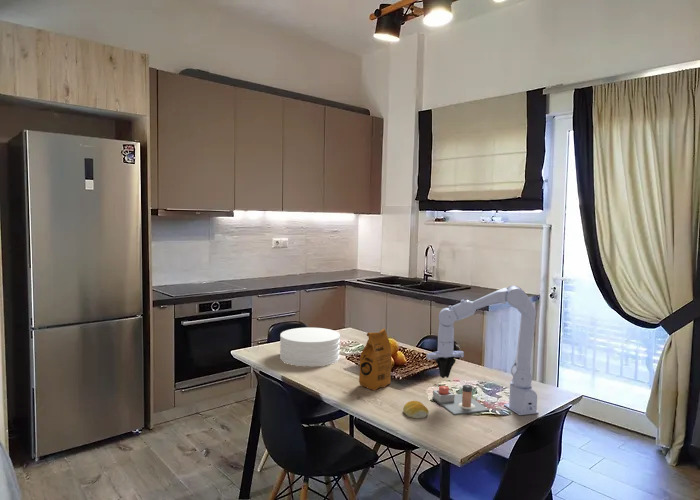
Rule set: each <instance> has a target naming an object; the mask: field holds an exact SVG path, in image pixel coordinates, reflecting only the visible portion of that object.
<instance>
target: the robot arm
mask: <svg viewBox="0 0 700 500" xmlns="http://www.w3.org/2000/svg"><path fill="white" fill-rule="evenodd" d="M496 303H499V304H502V305H506V304H507V303H508V305H510V306H511V307H513V308H515V309H517V310H518V312H519V313H520V314H521V316H520V323H519V331H518V341H517V348H516V356H515V359H514V363H513V364H512V366H511V368H510V373H511V376H512V379H511V380H510V383H509V398H508V399H509V400H508V401H509V403H504V404H503V406H504V407H506V408H508V409H509V410H510V411H513V412H514V413H515V414H517V415H518V416H527V415H534V414H535V415H536V414H539V411H538V394H537V392H536V391H535V390H534V389H533V386H532V383H533V377H532V374H531V355H532V347H533V341H534V331H535V324H536V318H537V317H536V316H537V315H536V314H537V311H536V308H535V306H534V304H533V303H532V301H531V299H530V297H529V296H528V294H527V293H526V292H525V291H524V290H523V289H522V288H521V287H519V286H518V285H509V286H508V287H503V288H500V289H497V290H495V291H492V292H490V293H488V294H486V295H483V296H481V297H479V298H477V299H475V300H473V301H471V300H469V299H466V300H465V299H461V300H460V302H459V303H456V304H454V305H448V307H443V308H441V309H440V311H439V314H438V322H439V323H438V331H437V351H433V352H427V353H426V357H425V359H427V360H428V361H430V360H435V363H436V365H437V366H438V370H439V375H440V376H439V377H440V378H441V379H445V378H447V379H448V378H449V377H450V373H451V370H452V368H453V366H454V365H455V363H456V358H464V357H465V352H464V351H462V350H454V341H455V328H454V323H455V322H456V321H457V322H458V321H460V320H463V319H466V318H468V317H471V316H474V315H475V312H476V311H477V310H480V309H482V308H484V307H485V308H486V307H487V306H491V305H493V304H496Z"/></svg>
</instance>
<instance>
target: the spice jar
mask: <svg viewBox="0 0 700 500" xmlns="http://www.w3.org/2000/svg"><path fill="white" fill-rule="evenodd" d="M472 393H473V386H472V385H469V384H464V385H462V393H461V394H462V406H464V407H471V398H473V397H472V396H473V395H472Z"/></svg>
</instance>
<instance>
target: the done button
mask: <svg viewBox="0 0 700 500" xmlns="http://www.w3.org/2000/svg"><path fill="white" fill-rule="evenodd" d="M438 390H439V394H441V395H447V394H449V391H450V387H449V386H447V385H440V386H438Z"/></svg>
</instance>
